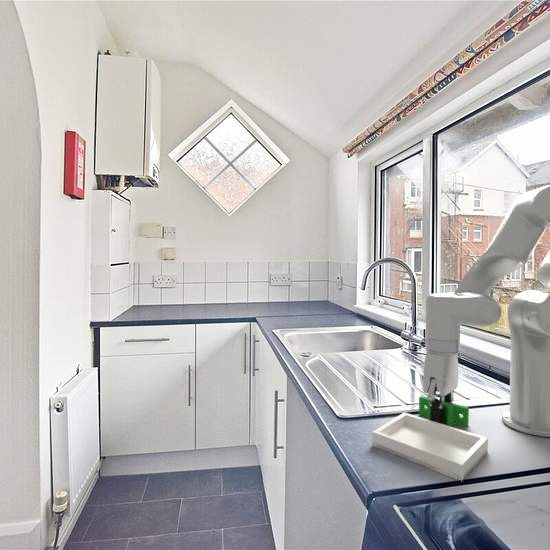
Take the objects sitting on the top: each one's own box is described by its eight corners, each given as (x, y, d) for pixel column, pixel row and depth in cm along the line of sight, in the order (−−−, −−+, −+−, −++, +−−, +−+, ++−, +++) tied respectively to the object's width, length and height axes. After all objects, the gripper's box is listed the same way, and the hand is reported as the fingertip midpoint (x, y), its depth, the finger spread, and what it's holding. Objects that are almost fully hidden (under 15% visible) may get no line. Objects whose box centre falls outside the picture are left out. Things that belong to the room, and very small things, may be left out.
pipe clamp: (415, 418, 93) (415, 400, 93) (420, 413, 96) (420, 396, 96) (464, 431, 86) (464, 411, 85) (468, 425, 88) (468, 406, 88)
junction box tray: (404, 424, 89) (404, 412, 89) (487, 452, 76) (487, 438, 76) (372, 445, 79) (372, 431, 79) (461, 481, 66) (462, 465, 66)
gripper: (440, 337, 98) (440, 406, 99) (411, 348, 87) (410, 426, 87) (471, 342, 93) (470, 414, 94) (444, 354, 81) (443, 437, 82)
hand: (441, 419), depth 91 cm, fingers closed on pipe clamp, 4 cm apart
